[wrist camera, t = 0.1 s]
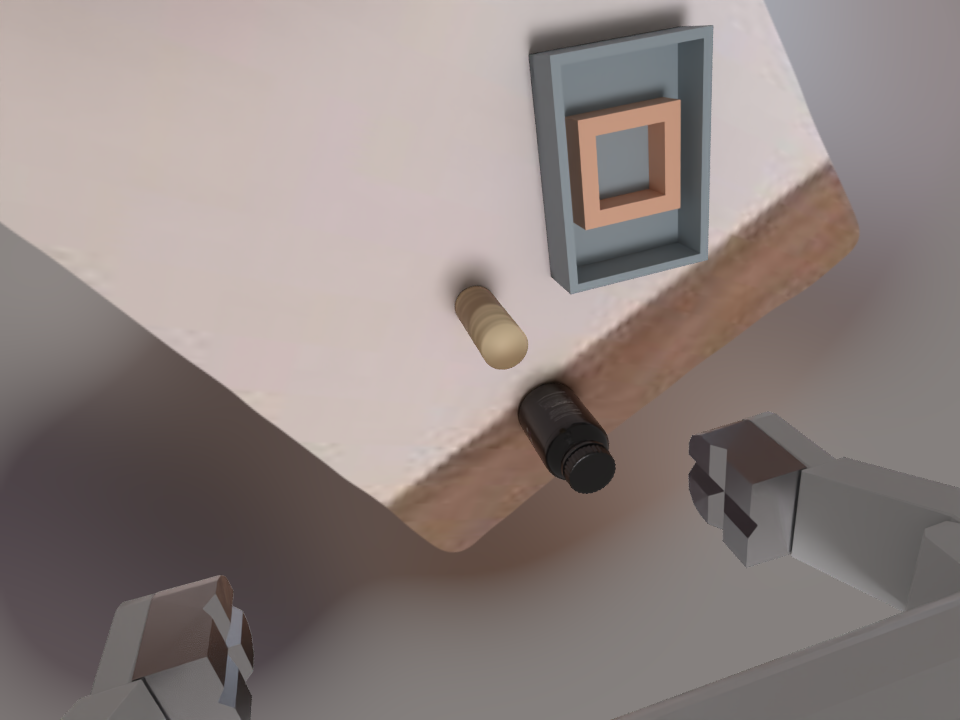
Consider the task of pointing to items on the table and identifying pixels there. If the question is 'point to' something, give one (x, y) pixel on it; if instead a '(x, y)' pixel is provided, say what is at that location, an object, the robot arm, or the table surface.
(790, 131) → the table surface
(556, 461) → the supplement bottle
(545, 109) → the open-top box
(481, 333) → the beech peg
